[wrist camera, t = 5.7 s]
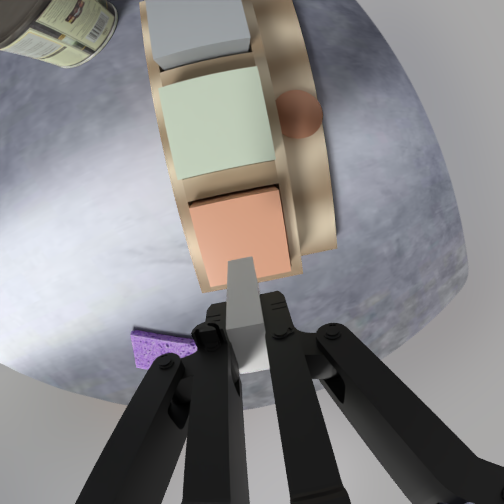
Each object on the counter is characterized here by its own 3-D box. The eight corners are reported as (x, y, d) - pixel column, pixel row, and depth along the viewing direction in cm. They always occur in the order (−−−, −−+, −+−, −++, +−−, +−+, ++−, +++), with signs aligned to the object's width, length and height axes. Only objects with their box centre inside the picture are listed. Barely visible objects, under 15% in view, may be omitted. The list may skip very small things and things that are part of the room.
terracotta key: (196, 197, 26) (188, 208, 22) (270, 181, 26) (278, 189, 22) (214, 264, 29) (210, 287, 25) (282, 250, 29) (291, 271, 24)
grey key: (158, 15, 17) (144, -7, 13) (233, -2, 17) (233, -27, 13) (167, 74, 20) (153, 59, 15) (247, 56, 20) (250, 37, 15)
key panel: (154, 23, 20) (139, 2, 15) (286, 1, 20) (297, -24, 15) (207, 267, 32) (202, 293, 26) (331, 242, 32) (350, 263, 26)
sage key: (172, 98, 21) (158, 88, 16) (252, 80, 21) (257, 66, 16) (188, 173, 24) (177, 180, 19) (267, 156, 24) (275, 159, 19)
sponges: (215, 371, 39) (215, 380, 38) (137, 360, 38) (134, 368, 36) (219, 339, 37) (218, 347, 35) (132, 326, 35) (129, 334, 34)
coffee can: (56, 17, 17) (-4, -13, 4) (122, -9, 18) (75, -62, 5) (46, 79, 21) (-29, 67, 8) (114, 56, 22) (45, 16, 9)
